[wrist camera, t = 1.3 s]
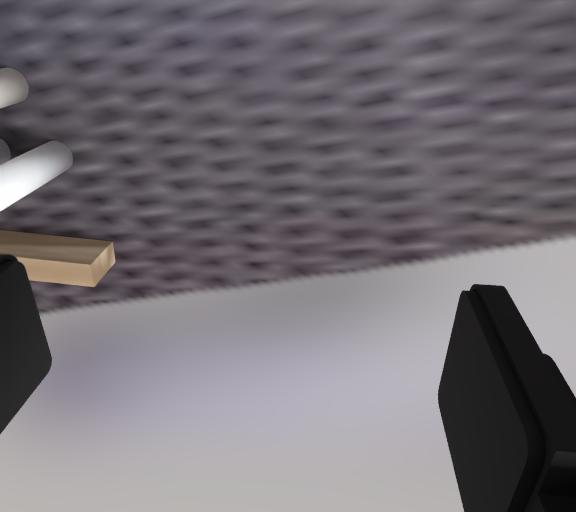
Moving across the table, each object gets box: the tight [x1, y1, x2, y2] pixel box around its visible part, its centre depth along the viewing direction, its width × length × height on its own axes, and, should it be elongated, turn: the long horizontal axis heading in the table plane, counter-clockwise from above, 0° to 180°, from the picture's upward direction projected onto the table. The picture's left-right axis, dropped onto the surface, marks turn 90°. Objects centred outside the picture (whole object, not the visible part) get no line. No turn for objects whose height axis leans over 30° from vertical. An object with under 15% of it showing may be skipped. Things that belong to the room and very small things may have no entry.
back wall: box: [0, 230, 115, 287], centre depth 38 cm, size 2×12×4 cm, turn 86°
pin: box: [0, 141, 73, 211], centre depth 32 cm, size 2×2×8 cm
